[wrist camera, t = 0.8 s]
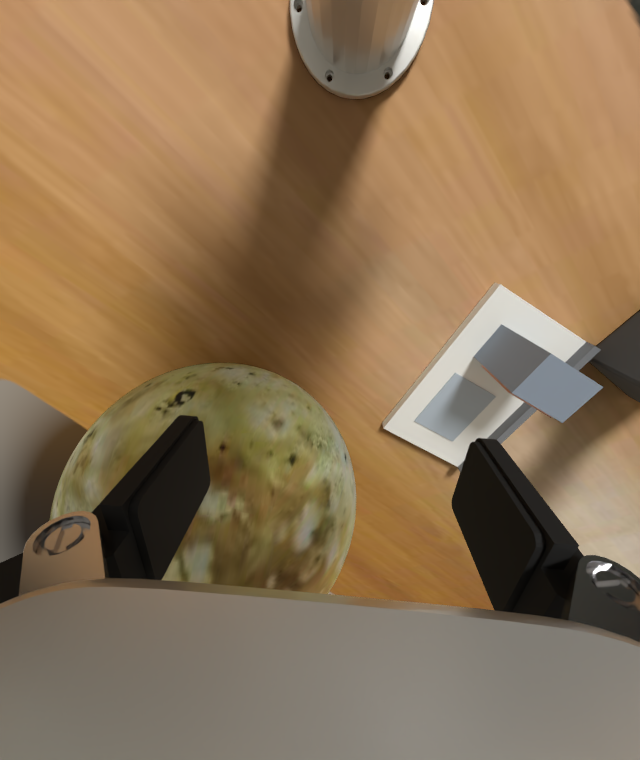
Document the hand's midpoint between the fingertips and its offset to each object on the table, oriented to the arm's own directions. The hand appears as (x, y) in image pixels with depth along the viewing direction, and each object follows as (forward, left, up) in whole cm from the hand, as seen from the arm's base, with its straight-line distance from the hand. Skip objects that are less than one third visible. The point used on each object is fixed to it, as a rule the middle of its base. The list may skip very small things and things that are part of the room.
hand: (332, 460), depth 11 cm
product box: (-4, +23, -30) cm, 38 cm away
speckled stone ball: (+23, -1, -32) cm, 40 cm away
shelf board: (+1, +23, -32) cm, 39 cm away
